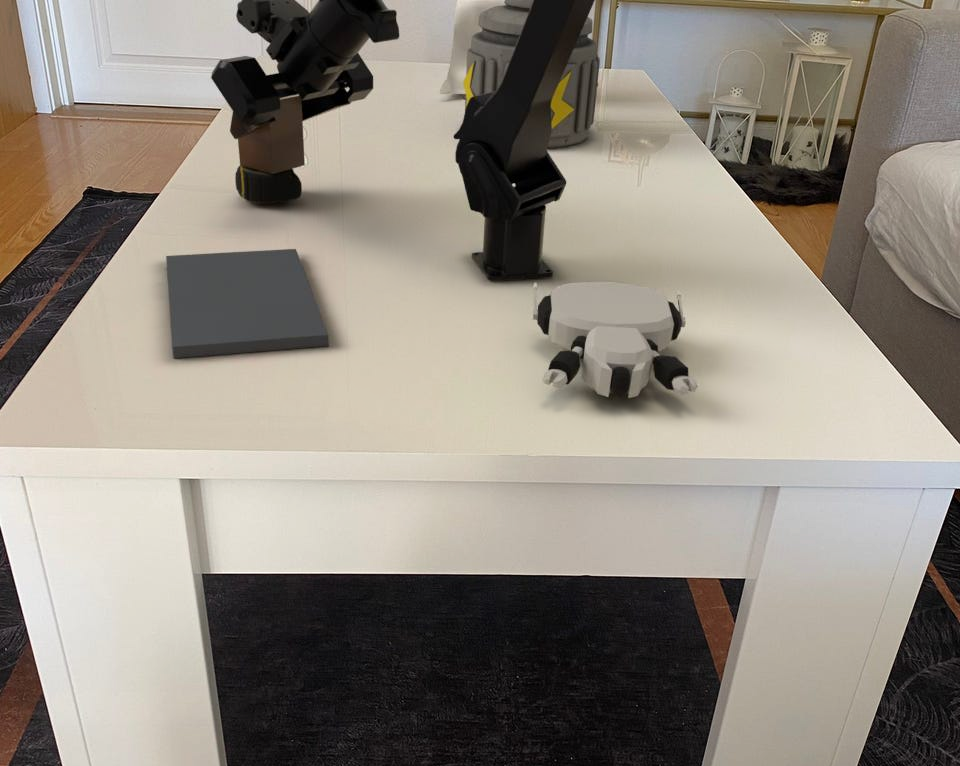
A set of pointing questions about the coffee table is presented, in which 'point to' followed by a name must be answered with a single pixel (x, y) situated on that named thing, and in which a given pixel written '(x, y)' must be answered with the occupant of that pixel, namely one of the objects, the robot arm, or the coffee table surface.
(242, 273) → the grey mat
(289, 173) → the tape measure
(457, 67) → the sculptural mask
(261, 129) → the walnut block
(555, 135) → the grey ribbed canister
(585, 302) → the robot toy
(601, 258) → the coffee table surface
